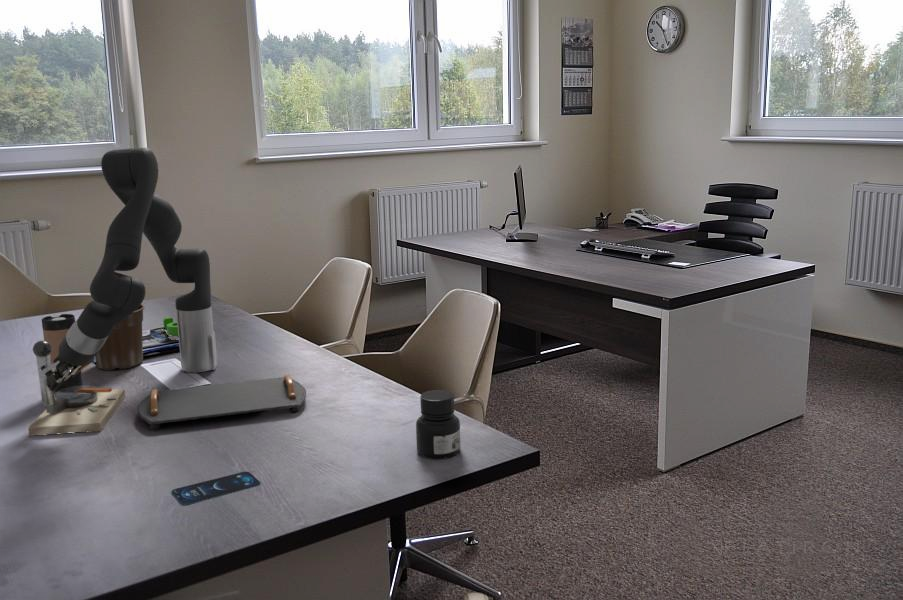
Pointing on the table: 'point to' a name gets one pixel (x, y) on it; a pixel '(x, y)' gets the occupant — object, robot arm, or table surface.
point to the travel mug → (59, 341)
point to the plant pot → (123, 344)
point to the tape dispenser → (170, 326)
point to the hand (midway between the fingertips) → (51, 387)
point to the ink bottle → (437, 425)
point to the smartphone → (215, 487)
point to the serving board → (221, 400)
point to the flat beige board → (79, 416)
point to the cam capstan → (65, 396)
